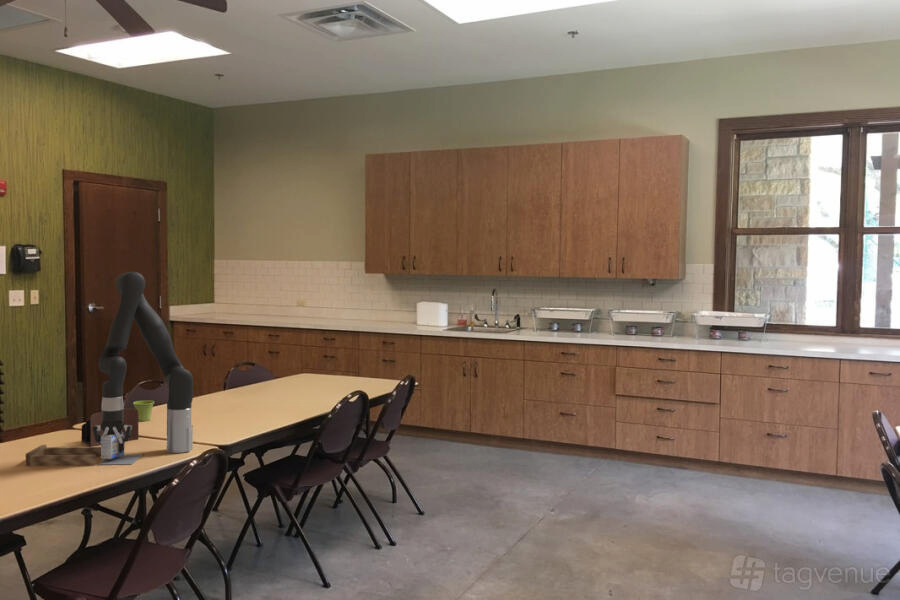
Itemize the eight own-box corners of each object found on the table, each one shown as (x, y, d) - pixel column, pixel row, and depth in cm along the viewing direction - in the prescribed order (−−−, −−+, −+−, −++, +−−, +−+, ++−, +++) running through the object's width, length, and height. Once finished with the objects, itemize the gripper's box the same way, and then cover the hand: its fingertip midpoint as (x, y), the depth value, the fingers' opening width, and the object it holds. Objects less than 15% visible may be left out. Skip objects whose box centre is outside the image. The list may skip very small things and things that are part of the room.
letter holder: (139, 439, 313) (139, 406, 313) (90, 447, 299) (90, 412, 298) (129, 435, 320) (129, 403, 320) (81, 443, 306) (81, 409, 305)
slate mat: (142, 455, 287) (142, 454, 287) (131, 464, 273) (131, 463, 273) (110, 455, 286) (110, 454, 286) (97, 465, 272) (97, 464, 272)
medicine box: (111, 459, 275) (111, 436, 274) (100, 458, 276) (100, 435, 275) (124, 454, 282) (124, 432, 282) (114, 453, 283) (114, 431, 283)
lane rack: (107, 455, 286) (107, 444, 285) (94, 465, 272) (94, 453, 271) (42, 456, 283) (42, 444, 283) (25, 465, 269) (25, 453, 269)
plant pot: (150, 417, 359) (150, 399, 359) (157, 420, 352) (157, 402, 351) (130, 419, 353) (130, 401, 353) (136, 423, 346) (136, 404, 345)
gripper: (135, 406, 283) (135, 450, 284) (96, 406, 281) (96, 450, 282) (129, 410, 275) (129, 455, 276) (88, 410, 274) (89, 455, 274)
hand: (112, 452), depth 279 cm, fingers closed on medicine box, 5 cm apart
